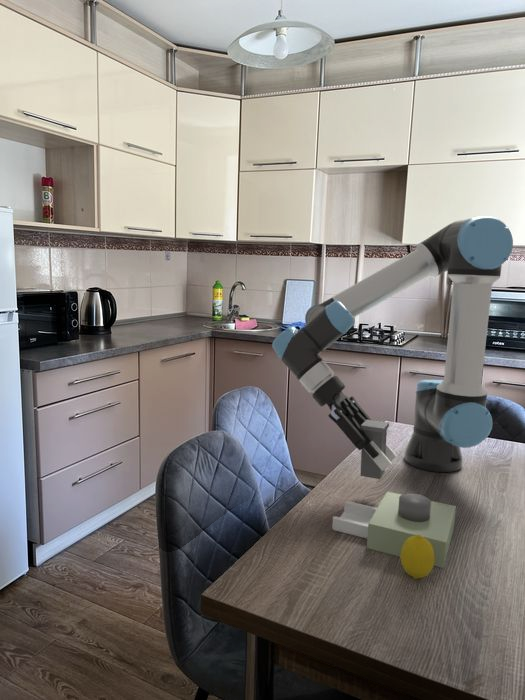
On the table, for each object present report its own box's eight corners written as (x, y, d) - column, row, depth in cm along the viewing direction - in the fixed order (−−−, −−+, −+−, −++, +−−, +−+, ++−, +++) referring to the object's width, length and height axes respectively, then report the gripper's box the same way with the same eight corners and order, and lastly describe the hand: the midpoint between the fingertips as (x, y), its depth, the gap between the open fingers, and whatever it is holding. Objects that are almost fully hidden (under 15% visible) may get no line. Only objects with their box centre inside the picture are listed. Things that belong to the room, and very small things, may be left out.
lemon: (434, 590, 87) (438, 545, 85) (399, 585, 88) (403, 541, 86) (430, 571, 92) (434, 529, 91) (398, 567, 93) (401, 525, 92)
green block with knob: (326, 537, 103) (328, 499, 101) (349, 505, 117) (352, 471, 116) (443, 568, 93) (447, 526, 92) (453, 528, 107) (457, 492, 106)
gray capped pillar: (358, 475, 119) (360, 425, 117) (364, 468, 124) (366, 419, 122) (381, 480, 117) (383, 428, 115) (386, 472, 121) (388, 422, 120)
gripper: (324, 386, 132) (386, 459, 128) (298, 402, 116) (367, 486, 112) (345, 367, 129) (409, 442, 124) (321, 381, 113) (394, 467, 109)
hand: (389, 463), depth 118 cm, fingers closed on gray capped pillar, 4 cm apart
